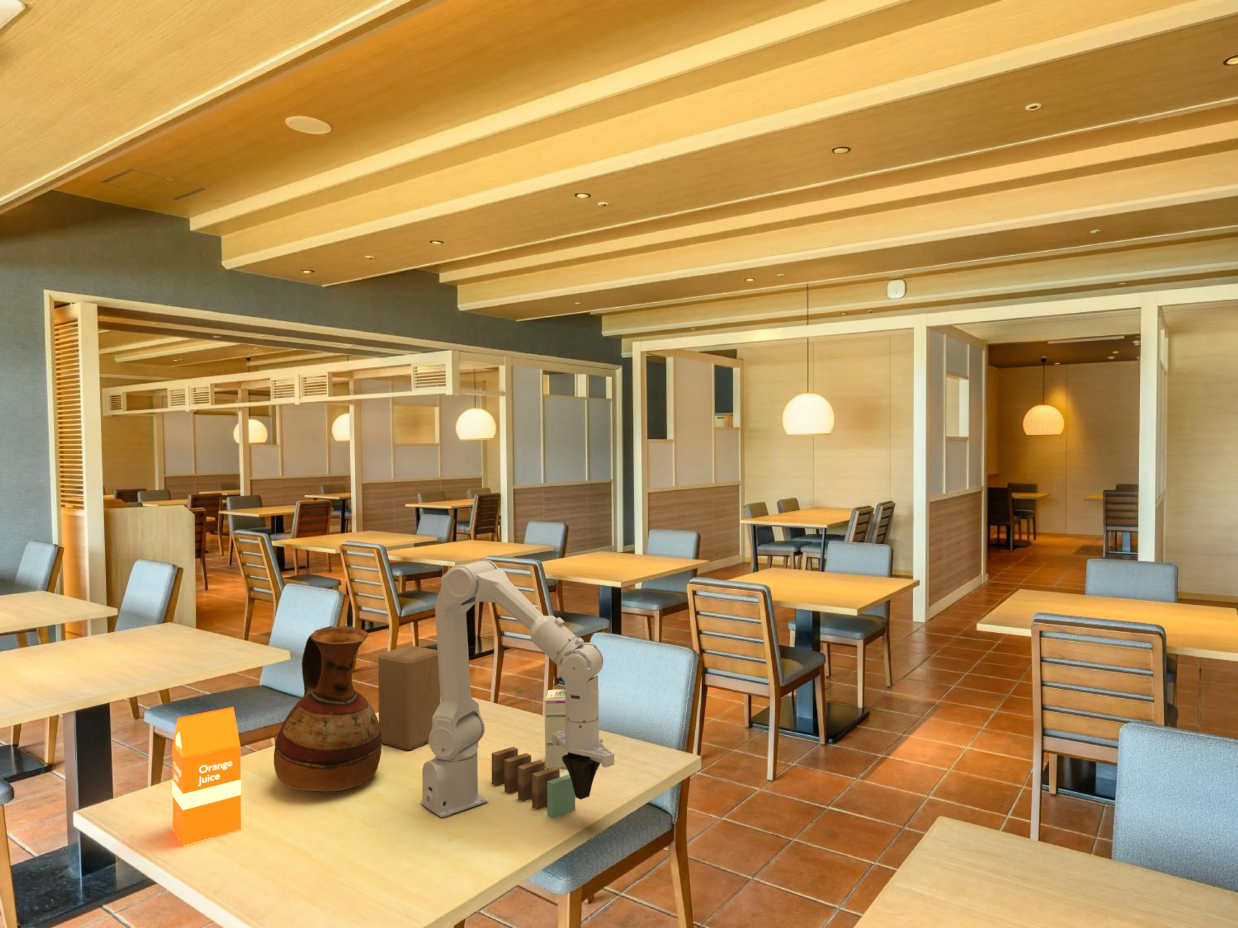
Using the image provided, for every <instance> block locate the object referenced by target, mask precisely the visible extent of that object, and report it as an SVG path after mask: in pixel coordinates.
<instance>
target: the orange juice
mask: <svg viewBox="0 0 1238 928" xmlns="http://www.w3.org/2000/svg"><path fill="white" fill-rule="evenodd" d="M175 726H176V727H175V730H174V731H175V732H174V736H173V737H174V738H173V743H172V783H171V785H172V791H171V793H172V795H171V796H172V831H173V830H174V831H175V833H176V834H177V836H176V837H178V838H179V839H180V841H181V842H180V841H179V842H180V844H181V843H182V844H183V845H182V844H181V845H182V847H183V846H184V845H187V844H191V843H194V842H198V841H201V840H204V839H208V838H211V837H216V836H219V835H222V834H226V833H229V832H233V831H236V830H239V829H240V830H239V831H241V830H242V813H241V812H242V811H241V810H242V799H241V798H242V779H241V778H242V777H241V775H242V774H241V770H242V769H241V762H242V761H241V742H240V737H239V731H238V725H237V720H236V713H235V708H234V706H231V707H225V708H220V709H216V710H210V711H205V712H200V713H194V714H192V715H185V716H180V717H177V721H176V725H175ZM174 831H173V832H174ZM236 832H237V831H236ZM175 833H174V834H175ZM233 833H234V832H233ZM176 834H175V835H176ZM229 834H230V833H229ZM226 835H227V834H226ZM222 836H223V835H222ZM219 837H220V836H219ZM178 838H177V839H178ZM216 838H217V837H216ZM179 839H178V840H179Z"/></svg>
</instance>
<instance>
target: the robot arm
mask: <svg viewBox="0 0 1238 928" xmlns="http://www.w3.org/2000/svg"><path fill="white" fill-rule="evenodd" d="M440 584H441V585H440V590H439V592H438V595H437V598H436V601H435V604H434V613H435V627H436V644H437V646H436V647H437V650H438V665H439V681H440V704H439V706H438V708H437V710H436V712H435V713H434V715H433V717H432V730H431V732H430V735H429V742H428V744H429V747H430V750H431V751H432V753H433V755H435V756H434V757H433V758H432V759H430V760H428V761H426V762H424V764H423V767H422V771H421V772H422V778H421V779H422V787H421V788H422V800H420V804H421V805H422V806H423V807H425V808H427V809H428V810H429V811H431V812H433V813H434V814H435V815H437V816H438V817H440V818H445V817H447V816H450V815H453V814H456V813H459V812H462V811H466V810H468V809H471V808H473V807H476V806H479V805H482V804H486V803H487V802H488V799H487V798H486V797H485V796H482V794H479V791H478V790H479V789H478V787H479V786H478V785H479V784H478V783H479V782H478V777H479V776H478V775H479V774H478V773H479V772H478V770H479V769H478V764H479V763H478V749H479V741H481V740H482V738H483V737H484V734H485V730H486V729H485V728H486V727H485V722H484V719H483V717H482V715H481V713H480V705H479V703H478V702H477V701H476V700H475V699H474V698H472V691H471V689H472V688H471V672H470V657H469V641H468V640H469V639H468V624H467V622H468V621H467V612H468V611H470V609H471V608H472V607H473V606H474V605H475V604H476V603H477V602H478V603H479V602H480V603H494V604H495V603H496V604H497V605H499V607H501V608H502V609H503V610H504V611H506V612H507V613H508V614H510V616H512V617H513V618H515V619H516V620H517V621H518V622H519V623H520V624H522V625H523V626H524V627H526V629H528V630H529V634H530V635H529V636H530V641H531V642H532V643H533V644H534V645H535V646H536V647H537V648H538V649H539V650H541V652H543V653H544V654H545V655H546V656H547V657H548V658H549V659H550V660H551V661H552V662H554V663H555V665H557V666H558V672H559V675H560V677H561V679H562V680H563V683H564V688H565V732H562V731H560V732H556V733H553V734H552V744H553V745H555V746H557V745H560V746H562V747H563V748H564V749H565V750H566V751H567V752H568V754H567V755H564V756H562V761H563V762H564V764H565V766H566V768H567V769H566V770H567V772H568V774H569V775H570V778H571V781H572V785H573V789H574V793H575V799H578V800H580V801H581V800H583V799H587V798H590V795H591V790H592V785H593V782H594V778H595V776H596V774H597V771H598V770H599V767H600V765H601V767H602V768H605V769H606V768H609V767H612V766H614V765H615V753H614V752H612V751H610V750H609V749H608V748H607V747H606V746H605V745H604V744H603V741H604V740H603V738H602V737H600V736H599V735H600V731H599V730H600V724H599V722H600V721H599V720H600V719H599V718H600V717H599V712H600V711H599V710H600V709H599V706H600V705H599V698H600V697H599V676H598V674H599V673H600V672H601V670H602V669H603V667H604V666H603V665H604V655H603V654H602V651H600V649H599V648H598V647H597V645H596V644H594V643H592V642H585V641H584V639H583V638H581V637H577V635H575V634H574V633H573V632H572V631H571V630H570V629H569V628H568V627H566V626H565V620H563V618H561V617H560V616H559V617H555V616H554V615H544V614H543V613H542V612H540V611H539V609H538V608H536V607H535V605H534V604H533V603H532V602H531V601H530V600H529V599H528V598H527V597H526V596H525V595H524V594H523V593H522V592H521V591H520V590H519V588H517V587H516V586H515V585H514V584H513V583H512V582H511V580H510V579H509V578H508V576H507V574H506V572H505V571H504V570H502V568H499V567H498V565H496V563H494V562H493V561H492V560H489V559H481V560H477V561H474V562H470V563H465V564H459V565H455V566H453V567H451V568H449V570H448V571H446V573H444V574H443V575H442V576H441V577H440Z"/></svg>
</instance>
